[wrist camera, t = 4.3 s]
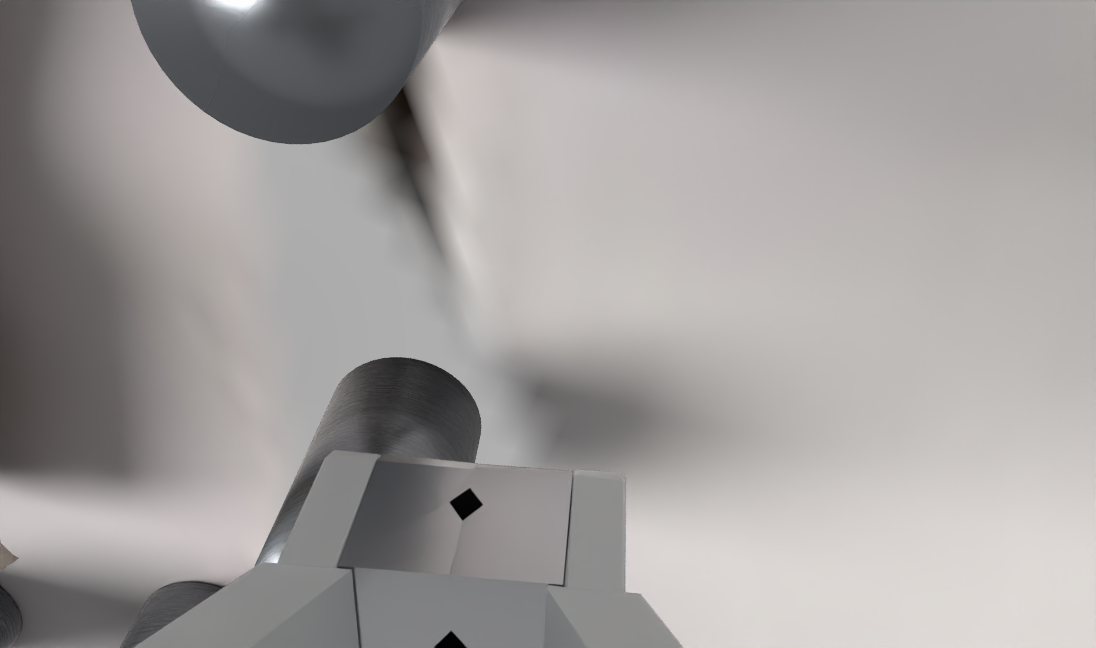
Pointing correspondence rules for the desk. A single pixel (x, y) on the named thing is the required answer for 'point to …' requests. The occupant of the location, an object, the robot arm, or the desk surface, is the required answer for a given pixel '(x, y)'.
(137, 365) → the desk surface
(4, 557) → the bone fragment
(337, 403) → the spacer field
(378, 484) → the robot arm
